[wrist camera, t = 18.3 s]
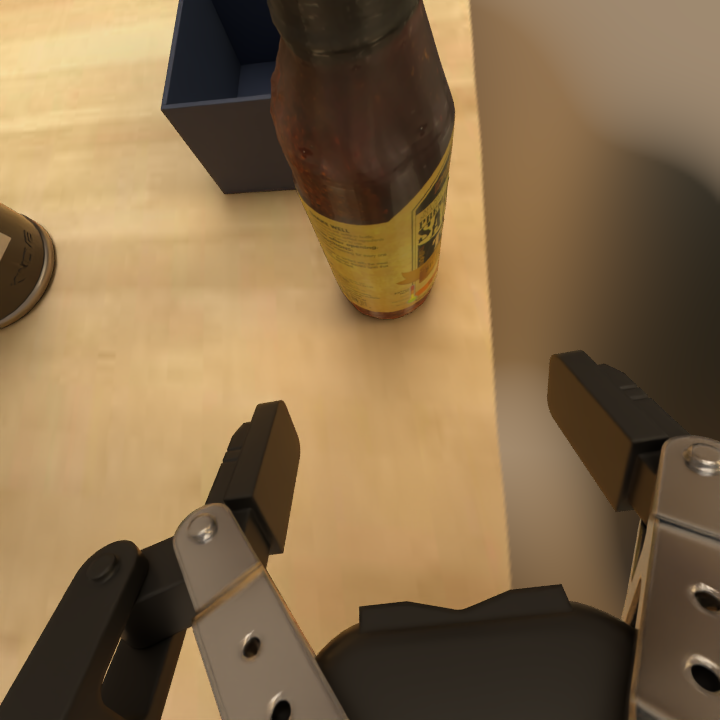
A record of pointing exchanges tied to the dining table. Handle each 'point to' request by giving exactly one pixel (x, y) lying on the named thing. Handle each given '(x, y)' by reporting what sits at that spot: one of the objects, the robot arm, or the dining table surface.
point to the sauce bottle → (366, 141)
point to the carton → (227, 92)
